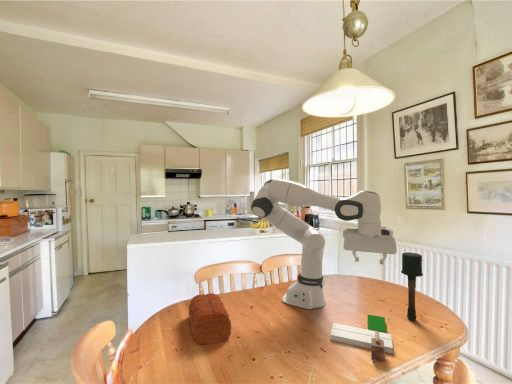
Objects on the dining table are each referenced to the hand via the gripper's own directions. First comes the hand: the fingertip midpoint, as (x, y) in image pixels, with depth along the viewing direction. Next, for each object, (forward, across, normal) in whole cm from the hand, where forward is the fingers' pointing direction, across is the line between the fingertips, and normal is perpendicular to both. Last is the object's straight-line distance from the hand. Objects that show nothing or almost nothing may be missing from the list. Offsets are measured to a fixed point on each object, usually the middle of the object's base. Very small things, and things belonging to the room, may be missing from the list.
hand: (369, 262), depth 109 cm
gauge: (+29, +3, -12) cm, 32 cm away
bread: (+30, -64, -22) cm, 74 cm away
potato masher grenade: (+29, +18, +20) cm, 40 cm away
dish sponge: (+30, +3, +6) cm, 31 cm away
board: (+29, -3, -7) cm, 30 cm away
